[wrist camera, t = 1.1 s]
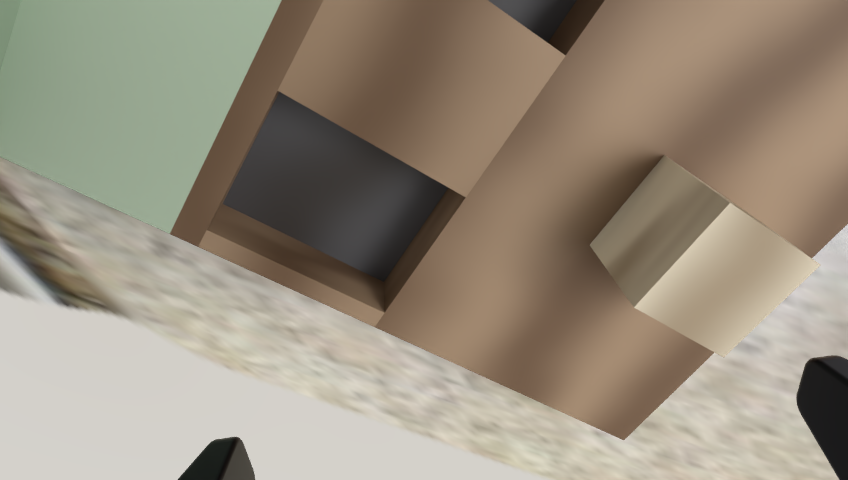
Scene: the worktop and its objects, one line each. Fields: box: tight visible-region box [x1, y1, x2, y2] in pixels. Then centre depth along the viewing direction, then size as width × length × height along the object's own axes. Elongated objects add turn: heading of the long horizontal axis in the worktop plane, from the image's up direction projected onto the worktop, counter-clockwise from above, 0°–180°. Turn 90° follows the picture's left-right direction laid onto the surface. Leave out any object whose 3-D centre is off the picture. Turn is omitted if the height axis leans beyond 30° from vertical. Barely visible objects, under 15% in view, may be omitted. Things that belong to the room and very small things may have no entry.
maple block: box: [590, 155, 820, 357], centre depth 19 cm, size 4×4×4 cm
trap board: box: [170, 0, 848, 440], centre depth 20 cm, size 21×18×2 cm
